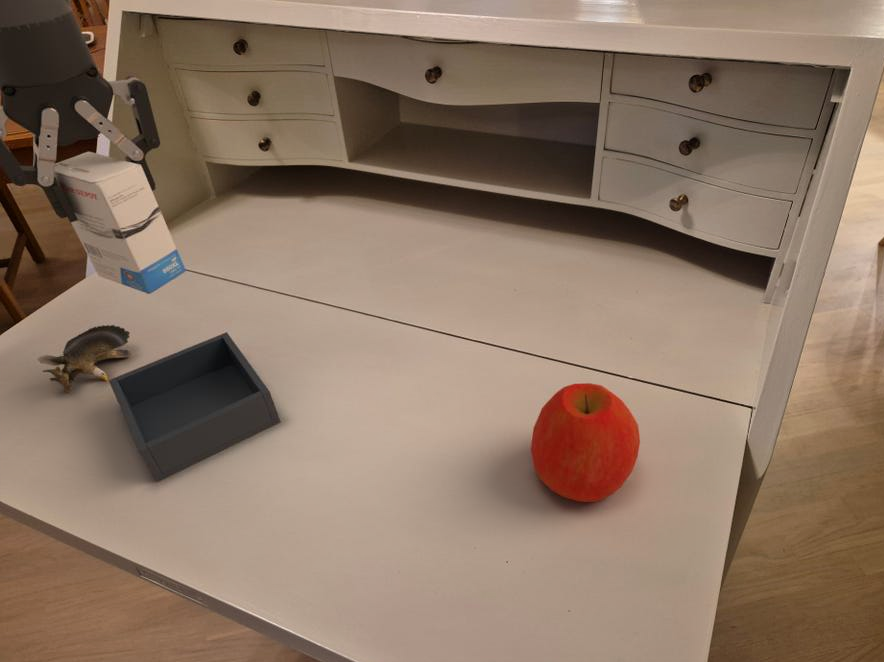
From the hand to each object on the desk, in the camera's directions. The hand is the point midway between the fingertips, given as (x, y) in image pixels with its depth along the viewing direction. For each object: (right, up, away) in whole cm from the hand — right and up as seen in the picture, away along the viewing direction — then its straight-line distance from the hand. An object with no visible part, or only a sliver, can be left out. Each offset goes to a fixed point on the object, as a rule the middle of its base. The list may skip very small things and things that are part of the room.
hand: (110, 206), depth 61 cm
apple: (+46, -26, +3) cm, 53 cm away
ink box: (0, -6, +5) cm, 8 cm away
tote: (+4, -21, +12) cm, 25 cm away
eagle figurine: (-12, -17, +19) cm, 28 cm away
